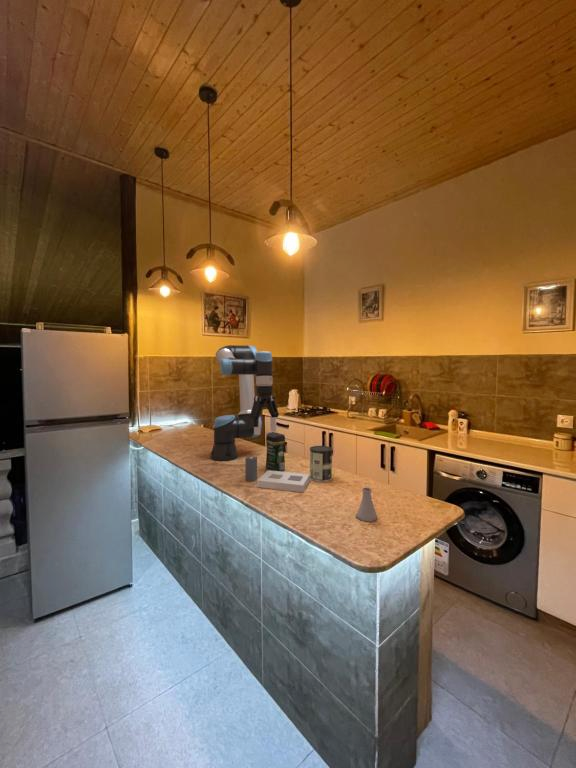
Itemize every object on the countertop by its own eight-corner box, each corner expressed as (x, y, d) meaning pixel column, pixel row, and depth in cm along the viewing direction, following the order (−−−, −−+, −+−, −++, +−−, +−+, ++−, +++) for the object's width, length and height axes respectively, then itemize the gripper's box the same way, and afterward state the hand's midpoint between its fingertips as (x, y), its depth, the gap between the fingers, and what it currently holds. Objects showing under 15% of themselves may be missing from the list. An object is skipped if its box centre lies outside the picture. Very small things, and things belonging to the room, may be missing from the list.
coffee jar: (263, 468, 165) (263, 432, 164) (275, 465, 170) (275, 430, 169) (275, 473, 158) (275, 435, 157) (287, 470, 163) (287, 433, 162)
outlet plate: (268, 476, 153) (268, 469, 153) (309, 480, 148) (310, 473, 148) (257, 487, 140) (257, 479, 140) (302, 492, 134) (302, 484, 134)
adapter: (248, 477, 152) (248, 456, 151) (257, 478, 151) (257, 456, 150) (245, 480, 148) (245, 458, 147) (253, 481, 147) (253, 459, 146)
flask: (361, 510, 118) (362, 483, 117) (380, 516, 113) (381, 488, 113) (351, 517, 112) (352, 489, 112) (371, 524, 108) (372, 494, 107)
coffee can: (330, 474, 157) (331, 445, 156) (333, 482, 146) (333, 451, 146) (309, 474, 157) (309, 445, 156) (310, 482, 147) (310, 451, 146)
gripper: (255, 384, 136) (257, 436, 135) (285, 386, 158) (286, 430, 157) (241, 385, 139) (242, 435, 138) (271, 386, 161) (272, 430, 160)
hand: (265, 432), depth 147 cm, fingers open, 13 cm apart
